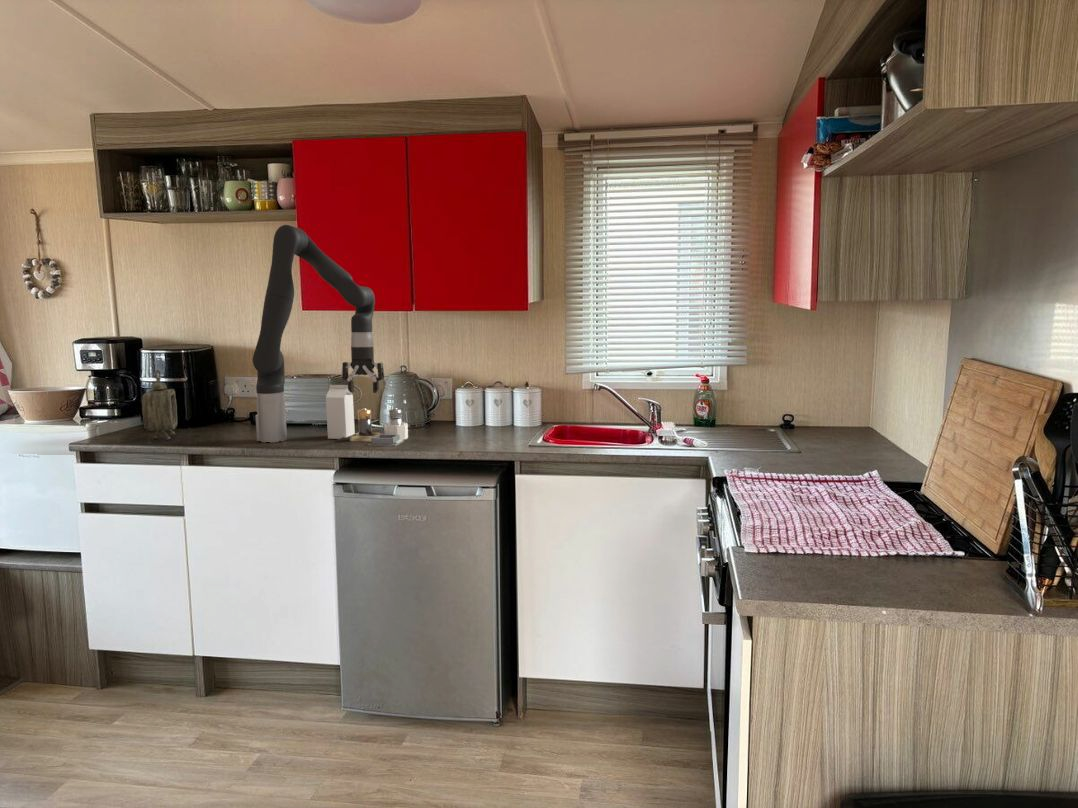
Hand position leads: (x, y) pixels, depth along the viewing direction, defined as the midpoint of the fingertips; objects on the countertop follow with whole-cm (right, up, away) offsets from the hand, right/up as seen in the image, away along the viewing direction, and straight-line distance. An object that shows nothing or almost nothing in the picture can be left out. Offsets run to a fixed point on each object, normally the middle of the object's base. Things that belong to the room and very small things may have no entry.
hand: (363, 392), depth 270 cm
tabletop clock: (-76, -17, +13) cm, 79 cm away
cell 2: (+11, -16, +4) cm, 20 cm away
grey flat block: (+9, -18, -5) cm, 21 cm away
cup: (+11, -17, +4) cm, 20 cm away
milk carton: (-10, -16, +11) cm, 22 cm away
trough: (0, -17, +3) cm, 17 cm away
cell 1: (0, -16, +3) cm, 16 cm away
